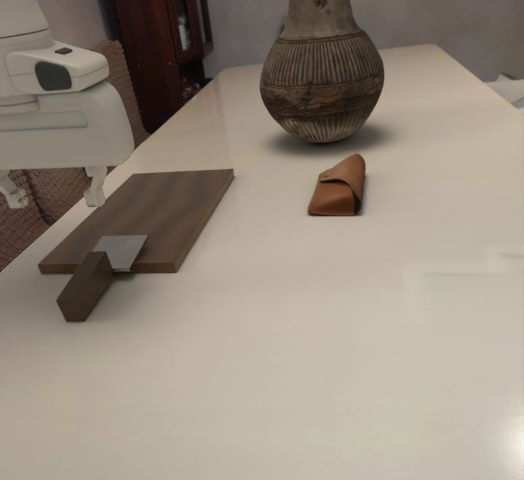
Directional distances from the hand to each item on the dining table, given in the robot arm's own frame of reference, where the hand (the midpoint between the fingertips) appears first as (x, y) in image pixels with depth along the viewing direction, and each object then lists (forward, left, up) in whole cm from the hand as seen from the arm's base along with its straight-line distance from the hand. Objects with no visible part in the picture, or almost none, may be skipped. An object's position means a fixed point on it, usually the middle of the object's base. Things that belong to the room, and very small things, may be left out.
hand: (58, 205), depth 60 cm
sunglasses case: (+29, +33, -13) cm, 46 cm away
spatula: (0, +4, -11) cm, 12 cm away
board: (-1, +25, -12) cm, 28 cm away
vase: (+24, +64, -13) cm, 70 cm away
